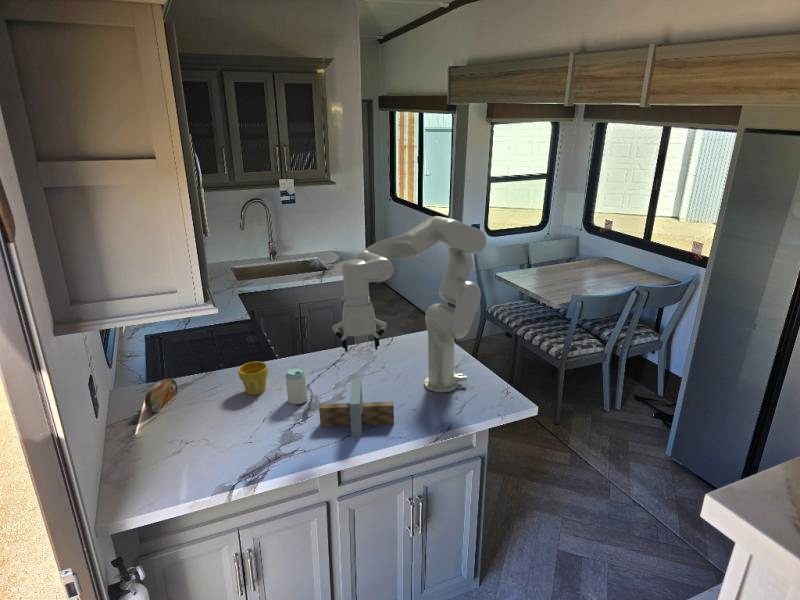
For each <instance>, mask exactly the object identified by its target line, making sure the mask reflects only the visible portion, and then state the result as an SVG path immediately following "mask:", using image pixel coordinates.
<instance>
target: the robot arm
mask: <svg viewBox="0 0 800 600" xmlns="http://www.w3.org/2000/svg"><path fill="white" fill-rule="evenodd" d="M437 244H443V245H446V248H447V252H448V255H449V256H448V257H449V259H448V263H447V267H446V270H445V272H444V276H442V277H443V278H442V280H441V283H440V286H439V290H438V294H439V295H438V296H440V298H441V299H443V300H444V301H446V302H448V303H450V304H452V305H455V307H452V306H450V305H447V304H445V303H441V302H440V303H439V302H438V303H434V304H431V305H430V306H429V307H428V308H427V309H426V312H425V318H424V320H425V325H426V330H427V343H428V345H427V349H428V350H427V351H428V353H427V355H428V356H427V357H428V360H427V363H428V365H427V366H428V367H427V369H428V376H427V377H426V378H425V379H424V381H423V383H424V387H425V388H426V389H427V390H428V391H431V392H434V393H440V394H441V393H449V392H453V391H454V390H456V389H457V388H458V386H459V382H467V381H468V378H467V377H468V376H467V375H463V373H456V372H455V346H456V345H455V339H456V340H457V339H462V338H465V336H466V335H467V334H468V332H469V331H470V329H471V326H472V324H473V321H474V319H475V316H476V314H477V311H478V308H479V305H480V303H481V298H482V291H481V288H480V286H479V285H478V284H477V283H476V282H474V281H473V280H472V281H471V280H469V279H470V276H471V272H472V270H473V265H474V263H473V256H472V255H477V254H480V253H481V252H483V251H484V250H485V248H486V245H487V236H486V234H485V232H484V231H483V230H482V229H480V228H478V227H475V226H471V225H468V224H466V223H464V222H462V221H459V220H457V219H454V218H450V217H449V218H448V217H443V216H438V215H435V216H431V217H429V218H426V220H424V221H422V222H421V223H419V224H418V225H415V227H413V228H411V229H409V230H407V231H406V232H405V233H402V234H400V235H399V234H398V235H396V236H393V237H389V238H385V239H382V240H379V241H377V242H375V243H373V244H371V245H369V246H368V247H366V248H365V249H363V250H362V251H361V252H360V253H359V254H358V255H356V257H355V258H353V259H348V260H346V261H344V262H343V264H342V278H343V279H342V280H343V289H344V295H342V296H340V302H344V303H343V306H342V320H341V321H339V322H337V323H335V324H333V325H332V328H331V329H332V331H333V332H334V333H335V336H336V337H338V338H339V339H340V341H341V342H342V344H341V345H342V349H344V352H348V350H349V348H348V347H349V346H348V338H347V337H358V336H369V335H370V336H371V335H373V336H374V350H376V351H378V347H380V337H381V336H383V334H384V333H385V330H386V329H387V327H388V323H387V322H385V321H384V320H380V319H378V318H376V315H375V310H374V306H373V303H372V301H371V300H370V299H371V298H370V289H369V283H377V282H378V283H379V282H383V281H386V280H388V279H390V278H391V277H392V275H393V274H394V269H395V268H394V264H393V263H392V261H391V260H396V259H398V260H399V259H410V258H411V259H412V258H416V257H419V256H421V255H422V254H423V253H425V252H427V251H428V250H429V249H431V248H432V247H434V246H436V245H437ZM377 326H380V328H379V330H378V329H376V327H377ZM340 328H342V331H343V332H342V331H340V330H339V329H340Z"/></svg>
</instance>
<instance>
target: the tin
mask: <svg viewBox="0 0 800 600" xmlns="http://www.w3.org/2000/svg"><path fill="white" fill-rule="evenodd" d="M177 395H178V384H177V381H176V380H175V379H173V378H163V379H162V380H160V381H159V382H157V384H155V385H154V386H153V387H151V388H150V389H149V390H148V391H147V392H146V394H145V396H144V405H145V408H146V410H147V411H148V412H150V413H160V412H161V411H162V410H161V409H162V408H163V407H164V406H165V405H166V404H167V403H168V401H170V400H171V399H172V398H173V397H175V396H177ZM175 398H176V397H175ZM160 410H161V411H160ZM159 411H160V412H159Z"/></svg>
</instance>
